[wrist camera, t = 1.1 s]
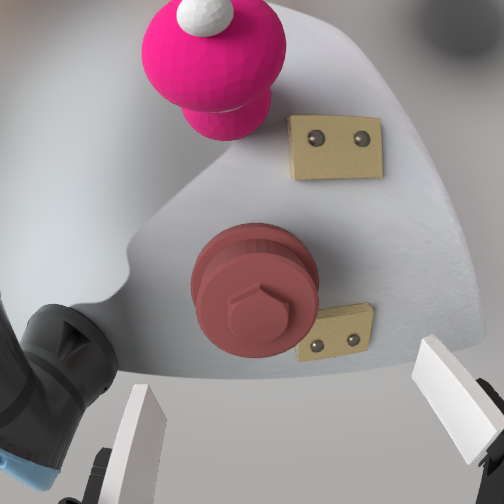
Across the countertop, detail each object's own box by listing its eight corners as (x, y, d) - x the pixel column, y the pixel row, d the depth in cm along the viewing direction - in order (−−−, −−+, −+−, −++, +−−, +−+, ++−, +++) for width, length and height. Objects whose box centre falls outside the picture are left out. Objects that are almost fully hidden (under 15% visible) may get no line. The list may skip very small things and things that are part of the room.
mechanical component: (271, 188, 27) (314, 271, 30) (184, 237, 28) (233, 311, 31) (296, 214, 15) (353, 338, 19) (150, 293, 17) (231, 392, 20)
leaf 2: (291, 178, 27) (295, 180, 25) (286, 118, 25) (291, 114, 23) (374, 175, 27) (384, 178, 25) (371, 120, 25) (381, 118, 23)
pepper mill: (196, 71, 23) (123, -56, 4) (270, 77, 23) (331, -52, 4) (186, 139, 25) (67, 114, 6) (260, 147, 26) (316, 126, 7)
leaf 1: (295, 352, 34) (298, 363, 32) (295, 312, 32) (299, 323, 30) (361, 341, 34) (368, 351, 32) (367, 302, 32) (374, 312, 30)
